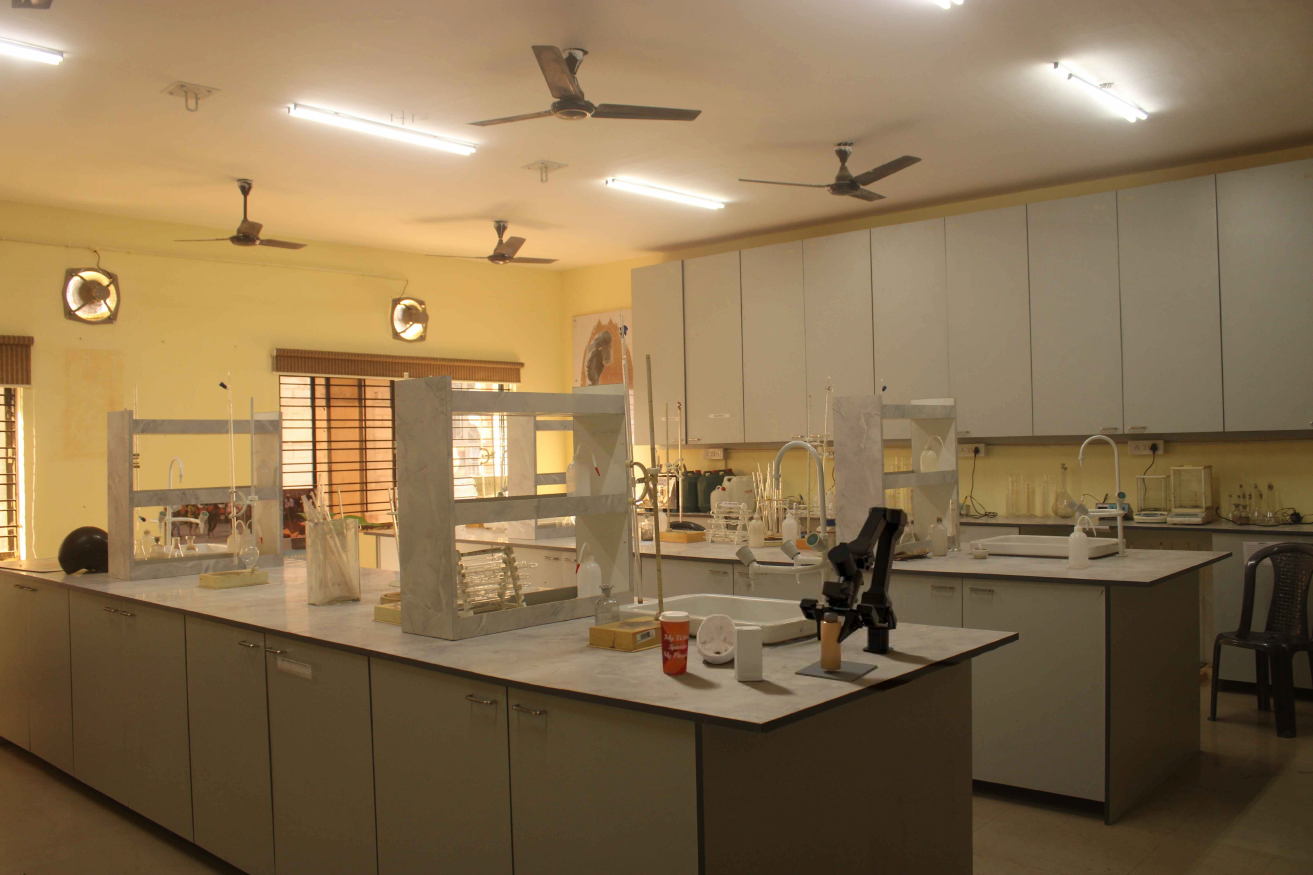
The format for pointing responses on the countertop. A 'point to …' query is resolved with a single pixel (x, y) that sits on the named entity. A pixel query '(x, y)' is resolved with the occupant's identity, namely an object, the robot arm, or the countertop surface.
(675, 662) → the paper cup
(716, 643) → the skull bowl
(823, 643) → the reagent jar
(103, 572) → the countertop surface
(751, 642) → the skincare box
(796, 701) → the countertop surface
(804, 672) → the rubber mat
